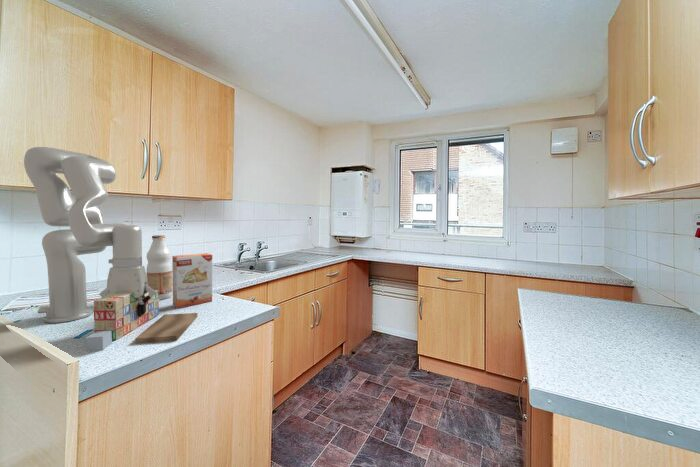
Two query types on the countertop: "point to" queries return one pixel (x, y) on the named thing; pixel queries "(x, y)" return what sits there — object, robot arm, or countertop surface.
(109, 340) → the slate cube
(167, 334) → the walnut board
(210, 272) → the cracker box
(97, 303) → the stack of blocks
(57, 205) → the robot arm
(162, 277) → the fruit juice
